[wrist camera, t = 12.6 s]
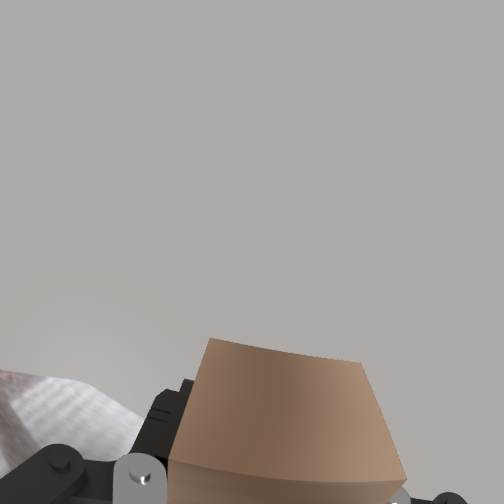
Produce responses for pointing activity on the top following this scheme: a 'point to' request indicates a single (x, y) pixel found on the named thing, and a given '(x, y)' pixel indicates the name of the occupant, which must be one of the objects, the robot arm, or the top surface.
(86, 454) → the top surface
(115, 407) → the top surface
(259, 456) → the walnut block
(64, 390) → the top surface
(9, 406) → the top surface
